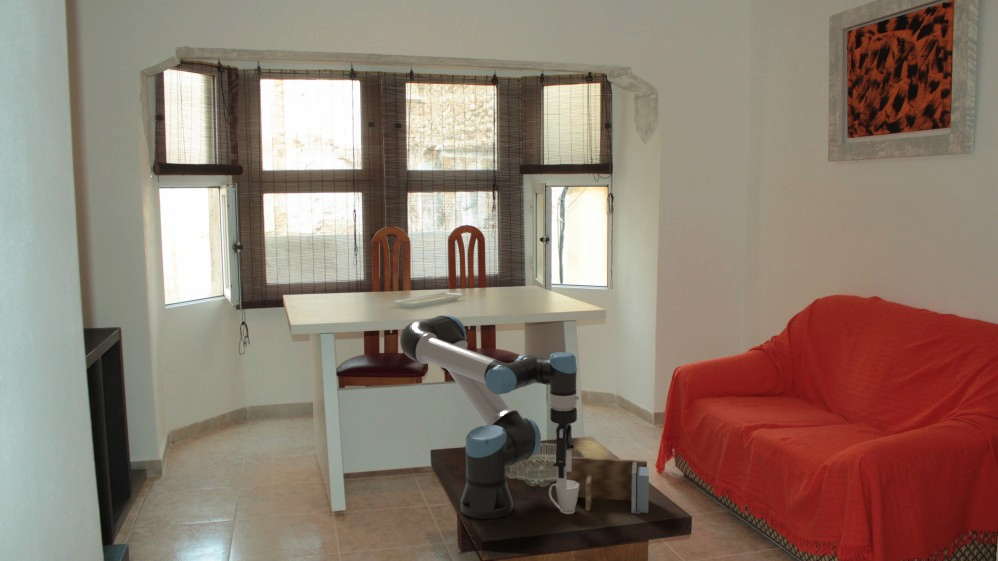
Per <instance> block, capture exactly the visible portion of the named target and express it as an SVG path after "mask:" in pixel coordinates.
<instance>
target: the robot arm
mask: <svg viewBox="0 0 998 561" xmlns="http://www.w3.org/2000/svg"><path fill="white" fill-rule="evenodd" d="M466 332H467V331H466V327H465V326H464V324H463V322H462V321H461V320H460V319H459V318H457V317H455V316H453V315H437V316H435V317H430V318H427V319H422V320H416V321H413V322H411V323H409V324H407V325H406V326H405V327H404V329H403V330H402V332H401V335H400V340H399V343H400V348H401V350H402V352H403V353H404V355H405V356H406V357H408V359H411V360H413V361H415V362H417V363H420V364H423V365H427V364H429V363H430V364H431V365H435V366H438V367H439V368H443V369H445V370H447V371H448V373H449V374H450V376H451V377H452V379H453V380H454V382H455V383H456V384H457V386H458V387H459V388H460V390H461V391H462V393H463V394H464V396H465V397H466V398H467V400H468V401H469V402H470V404H471V406H472V407H473V408H474V409H475V410H474V411H476V412H477V414H478V415H479V416H480V418H481V420H482V421H483V422H484V424H485V425H484V426H483V425H480V426H478V427H475V428H473V429H471V430H470V431H469V432H468V433H467V435H466V437H465V445H464V446H465V447H464V451H465V477H466V478H465V479H466V480H465V481H466V483H465V486H464V490H463V493H462V496H461V499H460V512H461V513H462V514H463V515H465V516H466V517H469V518H472V519H479V520H493V519H499V518H502V517H503V518H504V517H505V516H508V515H509V514H510V513H511V512H513V509H514V508H513V507H514V506H513V504H514V503H513V498H512V495H511V492H510V489H509V487H508V483H507V468H509V467H512V466H514V465H516V464H520V463H521V462H523V461H526V460H529V459H530V458H531V457H533V456H535V455H536V454H537V453H538V452H539V449H540V448H541V444H542V443H541V439H542V434H541V430H540V427H539V426H538V424H537V423H536V422H535V421H534V420H533V419H531V418H528V417H522V415H521V414H520V413H519V411H518V410H517V409H513V408H512V409H511V408H509V406H508V404H506V402H505V401H504V399H503V397H501V395H502V394H508V393H509V394H510V393H511V392H512V391H515V390H519V389H521V388H525V387H527V386H531V385H533V384H541V385H547V386H549V406H550V409H549V410H550V411H549V412H550V414H549V415H550V421H551V422H552V423H554V424H557V425H556V426H557V427H556V429H555V434H556V440H555V441H556V446H555V447H556V450H555V462H554V463H553V467H556V483H557V488H560V489H567V471H568V472H571V471H572V460H571V457H572V450H573V449H575V445H574V444H573V441H572V426H571V424H574V423H575V422H577V420H578V412H577V411H578V409H577V405H578V404H577V401H578V400H579V396H577V375H578V374H577V373H578V372H577V371H578V368H577V358H576V356H575V354H574V353H571V352H564V351H563V352H562V351H559V352H553V353H551V354H550V355H549V358H547V357H543V356H535V355H532V354H520V355H518V357H517V358H516V359H515V360H514V361H513V362H508V363H507V362H503V361H500V360H498V359H495V358H493V357H490V356H487V355H484V354H482V353H478V352H476V351H473V350H470V349H467V348H468V345H469V344H468V341H467V333H466Z"/></svg>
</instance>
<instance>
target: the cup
mask: <svg viewBox="0 0 998 561" xmlns="http://www.w3.org/2000/svg"><path fill="white" fill-rule="evenodd" d="M579 485H580V484H579V483H577V482H576V481H572V480H567V489H560V488H557V482H556V483H552V484H551V485H550V486H549V489H548V497H549V499H550V501H551V502H552V503H553V505H554V506H555V507H556V508H558V510H559V512H560V513H562V514H563V513H564V514H565V515H570V514H571V515H572V514H574V513H575V512H576V509H575V508H576V507H577V502H578V498H579V497H578V492H579ZM553 487H555V490H556V497H557V501H555V499H554V498H553V495H552V488H553Z"/></svg>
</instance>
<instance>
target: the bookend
mask: <svg viewBox="0 0 998 561" xmlns="http://www.w3.org/2000/svg"><path fill="white" fill-rule="evenodd" d="M630 508H631V509H630V510H631V514H636V515H637V514H638V515H640V514H641V513H640V510H637V462H633V465H632V500H631V507H630Z"/></svg>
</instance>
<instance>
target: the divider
mask: <svg viewBox="0 0 998 561" xmlns="http://www.w3.org/2000/svg"><path fill="white" fill-rule="evenodd" d="M592 503H593V498H592V474H588V476H587V481H586V498H585V511H591V506H592Z"/></svg>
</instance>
